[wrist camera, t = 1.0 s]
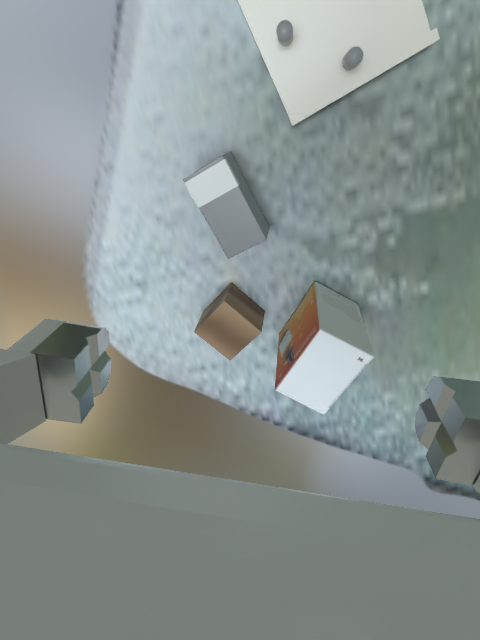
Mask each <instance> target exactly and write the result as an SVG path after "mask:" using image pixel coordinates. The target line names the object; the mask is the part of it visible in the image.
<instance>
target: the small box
mask: <svg viewBox="0 0 480 640" xmlns="http://www.w3.org/2000/svg"><path fill="white" fill-rule="evenodd" d="M373 358H374V354H373V350H372V347H371V344H370V341H369V338H368V335H367V332H366V329H365V326H364V322H363V319H362V316H361V313H360V310H359V307H358V304H356V303H354V302H353V301H351V300H349V299H347V298H345V297H344V296H342V295H340V294H338V293H336V292H334V291H333V290H331V289H329V288H327V287H325V286H323V285H322V284H320V283H318V282H316V281H315V282H314V283H313V284H312V286H311V288H310V289H309V291H308V292H307V294H306V296H305V297H304V299H303V300H302V302H301V303H300V304H299V306H298V307H297V309H296V310H295V312H294V313H293V315H292V316H291V317H290V319H289V320H288V322H287V323H286V325H285V326H284V328H283V329H282V331H281V332H280V334H279V344H278V356H277V368H276V381H275V390H276V391H278V392H280V393H282V394H284V395H286V396H288V397H290V398H292V399H294V400H296V401H298V402H300V403H302V404H304V405H306V406H308V407H310V408H312V409H314V410H315V411H317V412H319V413H321V414H325V413H326V412H327V411H328V410H329V408H330V407H331V406H332V404H333V403H334V402H335V401H336V400H337V398H338V397H339V396H340V395H341V394H342V393H343V391H344V390H345V389H346V388H347V387H348V386H349V385H350V383H351V382H352V381H353V380H354V379H355V378H356V377H357V375H358V374H359V373H360V372H361V371H362V370H363V369H364V368H365V367H366V366H367V365H368V364H369V363H370V362H371V361H372V360H373Z"/></svg>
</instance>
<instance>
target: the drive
mask: <svg viewBox="0 0 480 640" xmlns="http://www.w3.org/2000/svg"><path fill="white" fill-rule="evenodd" d="M183 181H184V182H185V183H184V184H185V186H186V188H187V189H188V191H189V193H190V195H191V196H192V198H193V200H194V202H195V203H196V205H197V207H198V208H199V209H200V210H201V212H202V214H203V216H204V217H205V219H206V221H207V223H208V224H209V226H210V228H211V230H212V231H213V233H214V235H215V237H216V238H217V240H218V242H219V244H220V245H221V247H222V249H223V251H224V252H225V254H226V256H227V258H228V259H229V258H231V257H233V256H235V255H237V254H239V253H241V252H243V251H245V250H247V249H249V248H251V247H253V246H255V245H257V244H259V243H261V242H263V241H265V240H266V238H267V234H268V229H269V225H268V223H267V221H266V219H265V217H264V215H263V213H262V211H261V209H260V207H259V205H258V203H257V201H256V199H255V198H254V196H253V194H252V192H251V190H250V188H249V186H248V184H247V182H246V180H245V178H244V176H243V174H242V172H241V170H240V168H239V166H238V164H237V162H236V160H235V158H234V156H233V154H232V152H231V151H230V152H228V153H226V154H225V155H223V156H221V157H219V158H218V159H216V160H214V161H213V162H211V163H209V164H208V165H206V166H204V167H203V168H201V169H199V170H198V171H196V172H194V173H193V174H191V175H189V176H188V177H186V178H184V179H183Z"/></svg>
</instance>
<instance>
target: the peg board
mask: <svg viewBox="0 0 480 640" xmlns="http://www.w3.org/2000/svg"><path fill="white" fill-rule="evenodd" d="M238 2H239V4H240V7H241V9H242V11H243V13H244V16H245V18H246V20H247V23H248V25H249V27H250V29H251V32H252V34H253V36H254V39H255V41H256V43H257V45H258V48H259V50H260V52H261V55H262V57H263V59H264V61H265V64H266V66H267V68H268V70H269V73H270V75H271V77H272V80H273V82H274V84H275V86H276V89H277V91H278V93H279V96H280V98H281V100H282V102H283V105H284V107H285V109H286V112H287V114H288V116H289V119H290V121H291V124H292V126H293V125H295V124H297V123H298V122H300V121H302V120H304V119H305V118H307V117H309V116H310V115H312V114H314V113H315V112H317V111H319V110H321V109H322V108H324V107H326V106H327V105H329V104H331V103H332V102H334V101H336V100H338V99H339V98H341V97H343V96H344V95H346V94H348V93H349V92H351V91H353V90H354V89H356V88H358V87H360V86H361V85H363V84H365V83H366V82H368V81H370V80H371V79H373V78H375V77H377V76H378V75H380V74H382V73H383V72H385V71H387V70H388V69H390V68H392V67H394V66H395V65H397V64H399V63H400V62H402V61H404V60H405V59H407V58H409V57H411V56H412V55H414V54H416V53H417V52H419V51H421V50H422V49H424V48H426V47H427V46H429V45H431V44H433V43H434V42H436V41H438V40H439V39H440V38H439V34H438V31H437V28H435V29H434V30H432V31H431V30H430V27H429V23H428V20H427V16H426V12H425V9H424V5H423V2H422V0H238Z"/></svg>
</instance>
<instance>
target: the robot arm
mask: <svg viewBox="0 0 480 640" xmlns="http://www.w3.org/2000/svg"><path fill="white" fill-rule="evenodd" d="M109 344H110V342H109V332H108V331H107V329H106V328H102V327H96V326H90V325H84V324H77V323H72V322H66V321H59V320H51V319H45V320H43V321H42V322H41V323H40V324H38V325H37V326H36V327H35V328H34V329H32V330H31V331H30V332H28V333H27V334H26V335H25V336H23V337H22V338H21V339H20V340H19V341H18V342H16V343H15V344H13V345H12V346H11V347H10V348H9V349H7V350H4V349H0V640H480V519H475V518H468V517H462V516H456V515H449V514H443V513H437V512H431V511H424V510H418V509H412V508H405V507H399V506H392V505H386V504H380V503H374V502H367V501H361V500H354V499H349V498H342V497H336V496H330V495H323V494H317V493H311V492H304V491H297V490H291V489H285V488H279V487H273V486H266V485H260V484H254V483H248V482H241V481H235V480H229V479H222V478H216V477H210V476H203V475H197V474H191V473H185V472H178V471H172V470H166V469H159V468H153V467H147V466H141V465H134V464H128V463H122V462H116V461H109V460H102V459H96V458H90V457H84V456H78V455H72V454H65V453H59V452H53V451H46V450H40V449H34V448H27V447H21V446H15V445H9V444H8V443H10V442H11V441H13V440H15V439H16V438H18V437H20V436H21V435H23V434H25V433H26V432H28V431H30V430H31V429H33V428H35V427H37V426H38V425H40V424H41V423H43V422H45V421H46V419H50V420H57V421H65V422H73V423H82V422H83V420H84V419H85V417H86V416H87V414H88V413H89V412H90V410H91V409H92V407H93V406H94V403H93V398H94V397H96V396H98V395H100V394H102V392H103V391H104V389H105V388H106V386H107V383H108V380H109V377H110V370H111V360H110V359H111V358H110V357H109V356H108V355H107V353H106V352H105V351H104V350H105V349H106V348H107V347H108V345H109ZM426 392H427V394H428V397H429V398H428V399H427V400H425V401H424V402H422V403H421V404H420V405H419V408H418V411H417V413H416V420H415V429H416V434H417V437H418V439H419V442H420V443H421V444H423V445H424V446H425V447H426V448H427V449H429V450H428V452H427V454H426V458H427V460H428V463H429V465H430V467H431V469H432V472H433V474H434V476H435V479H440V480H446V481H451V482H457V483H462V484H468V485H473V487H474V488H475V489H476V490H477V491H478V492H479V493H480V382H479V381H471V380H462V379H454V378H446V377H436V376H433V378H432V379H431V380H430V381H429V383H428V386H427V388H426Z"/></svg>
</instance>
